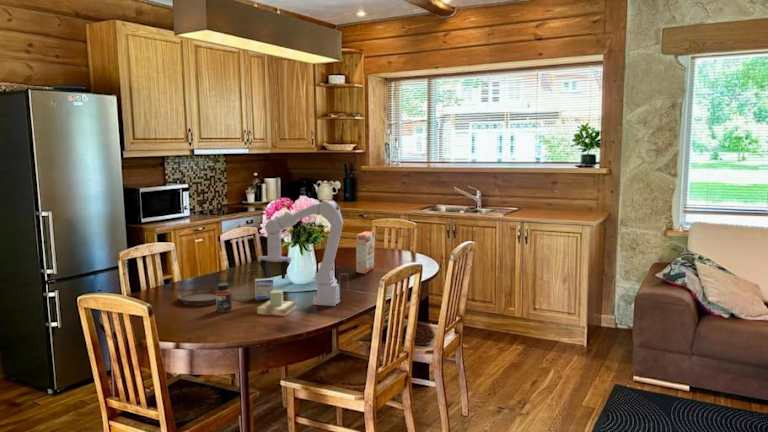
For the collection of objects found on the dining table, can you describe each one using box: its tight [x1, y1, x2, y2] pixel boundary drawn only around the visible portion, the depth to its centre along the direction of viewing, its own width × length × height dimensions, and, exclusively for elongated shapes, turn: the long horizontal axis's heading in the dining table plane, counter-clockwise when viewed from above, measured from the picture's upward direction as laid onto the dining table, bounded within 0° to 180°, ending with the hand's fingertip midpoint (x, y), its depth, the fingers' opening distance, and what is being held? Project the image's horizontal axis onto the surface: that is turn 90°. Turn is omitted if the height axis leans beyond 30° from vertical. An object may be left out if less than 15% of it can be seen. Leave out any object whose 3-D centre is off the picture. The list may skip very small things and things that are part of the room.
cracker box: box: [355, 231, 375, 274], centre depth 310 cm, size 14×6×21 cm, turn 163°
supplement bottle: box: [215, 282, 233, 314], centre depth 238 cm, size 6×6×11 cm
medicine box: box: [254, 277, 274, 301], centre depth 258 cm, size 8×4×9 cm, turn 105°
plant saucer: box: [177, 287, 218, 306], centre depth 255 cm, size 21×21×3 cm
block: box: [269, 289, 284, 306], centre depth 239 cm, size 4×4×6 cm
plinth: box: [256, 299, 297, 317], centre depth 239 cm, size 12×12×3 cm
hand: (275, 278), depth 252 cm, fingers open, 7 cm apart
